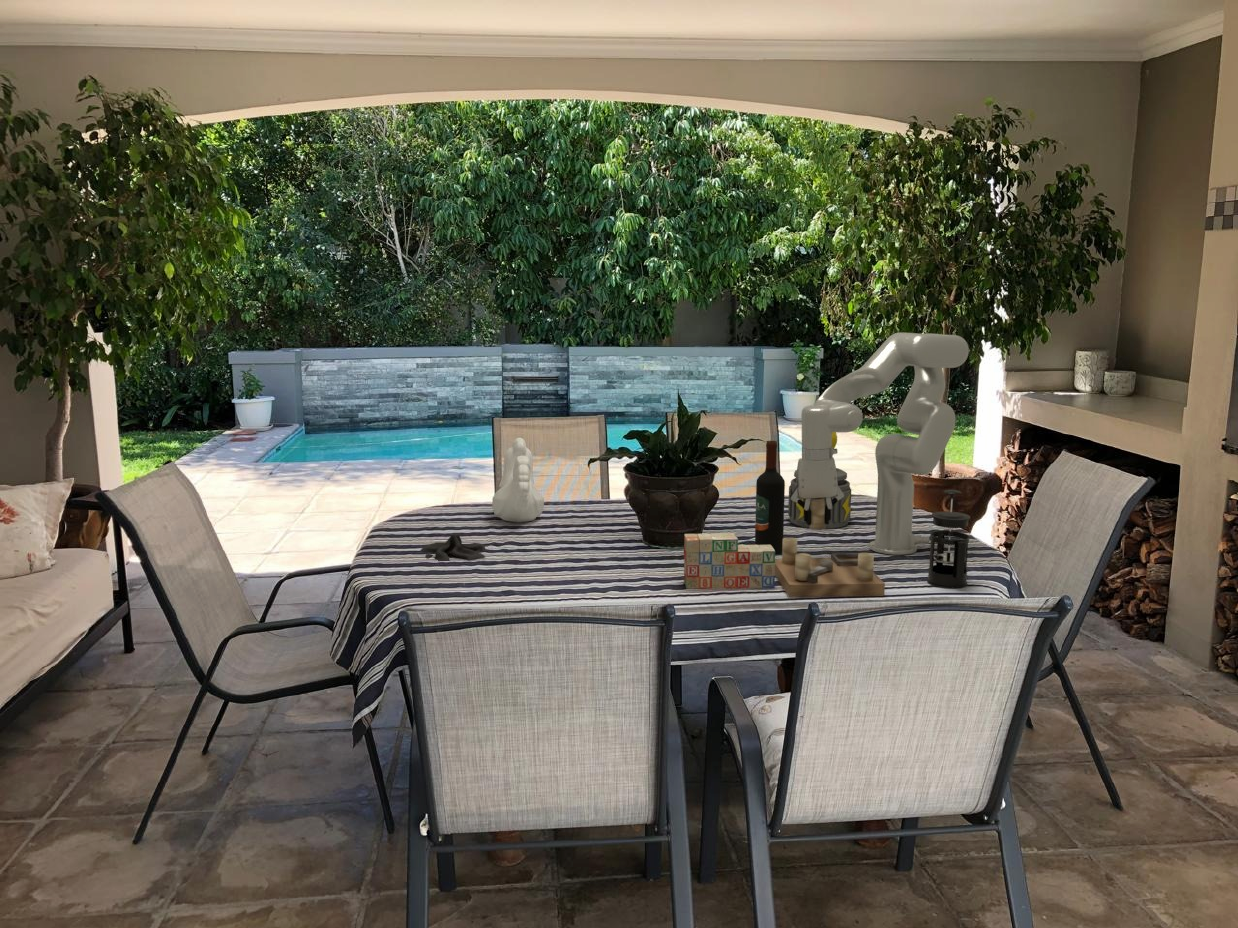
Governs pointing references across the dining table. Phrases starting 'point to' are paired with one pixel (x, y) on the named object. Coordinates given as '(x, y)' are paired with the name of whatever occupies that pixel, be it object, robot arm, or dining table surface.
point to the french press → (947, 573)
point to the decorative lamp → (841, 507)
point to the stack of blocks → (726, 563)
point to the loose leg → (817, 513)
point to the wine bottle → (770, 503)
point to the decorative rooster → (518, 487)
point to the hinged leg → (809, 566)
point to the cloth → (454, 549)
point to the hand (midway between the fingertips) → (817, 522)
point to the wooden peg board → (829, 575)
